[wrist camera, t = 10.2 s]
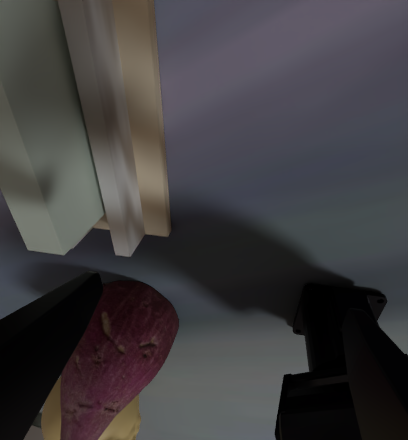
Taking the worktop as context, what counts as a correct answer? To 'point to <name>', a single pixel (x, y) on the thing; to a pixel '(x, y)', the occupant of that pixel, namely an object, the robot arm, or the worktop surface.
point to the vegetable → (115, 357)
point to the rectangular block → (43, 131)
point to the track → (122, 113)
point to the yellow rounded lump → (112, 436)
